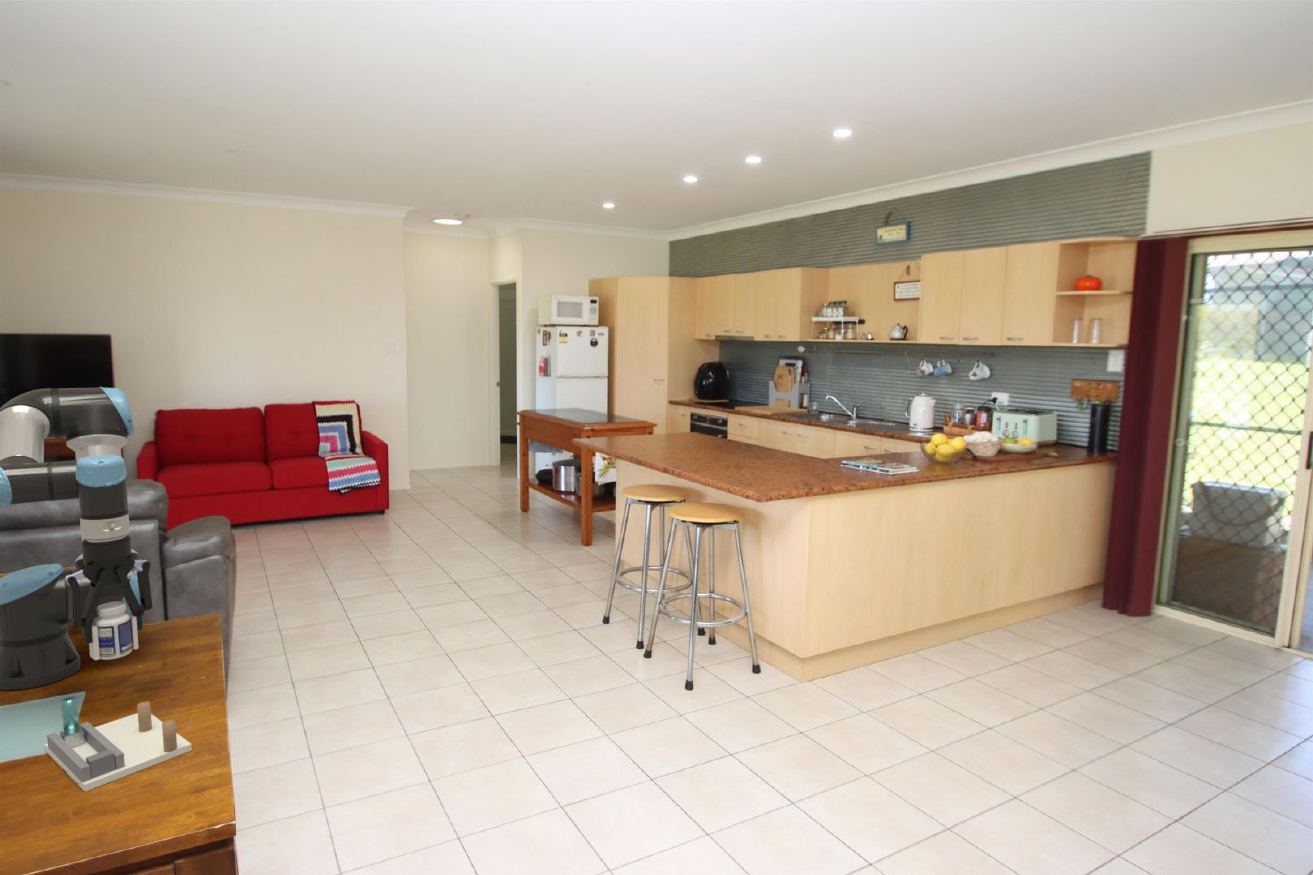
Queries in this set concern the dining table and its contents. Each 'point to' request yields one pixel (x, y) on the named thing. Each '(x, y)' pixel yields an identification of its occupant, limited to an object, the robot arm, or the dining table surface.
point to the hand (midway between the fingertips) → (114, 651)
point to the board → (118, 748)
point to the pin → (71, 723)
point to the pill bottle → (113, 630)
